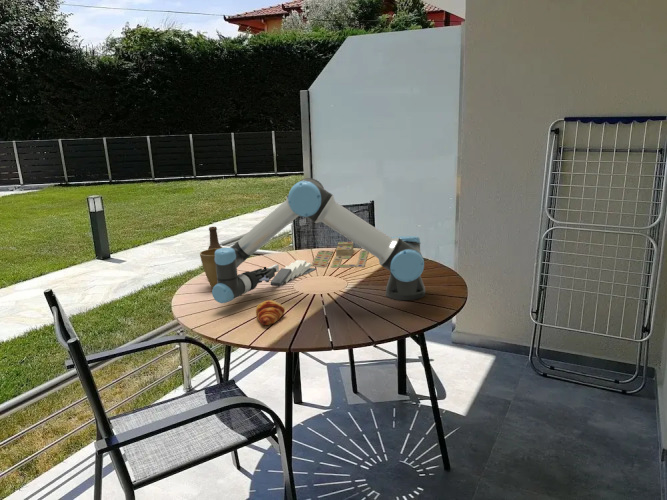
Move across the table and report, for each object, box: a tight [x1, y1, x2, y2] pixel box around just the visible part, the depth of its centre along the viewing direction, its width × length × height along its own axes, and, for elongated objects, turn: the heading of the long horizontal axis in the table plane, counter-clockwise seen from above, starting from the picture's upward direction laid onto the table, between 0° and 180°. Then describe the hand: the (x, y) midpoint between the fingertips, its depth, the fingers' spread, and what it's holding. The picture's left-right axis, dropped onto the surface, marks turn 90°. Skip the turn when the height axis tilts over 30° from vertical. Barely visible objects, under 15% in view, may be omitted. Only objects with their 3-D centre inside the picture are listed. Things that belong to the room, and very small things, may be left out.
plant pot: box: [199, 248, 220, 289], centre depth 220 cm, size 15×15×16 cm
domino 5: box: [298, 262, 312, 276], centre depth 239 cm, size 2×5×10 cm
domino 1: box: [269, 267, 292, 287], centre depth 224 cm, size 2×5×10 cm
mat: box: [302, 267, 317, 275], centre depth 241 cm, size 9×8×1 cm
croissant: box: [255, 299, 285, 326], centre depth 183 cm, size 21×10×8 cm, turn 0°
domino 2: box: [283, 265, 297, 284], centre depth 228 cm, size 2×5×10 cm
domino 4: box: [294, 259, 308, 278], centre depth 236 cm, size 2×5×10 cm
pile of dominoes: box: [311, 241, 369, 269], centre depth 260 cm, size 35×27×6 cm
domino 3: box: [288, 261, 302, 281], centre depth 232 cm, size 2×5×10 cm
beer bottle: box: [207, 226, 223, 250], centre depth 233 cm, size 8×8×24 cm
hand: (277, 267), depth 221 cm, fingers closed
